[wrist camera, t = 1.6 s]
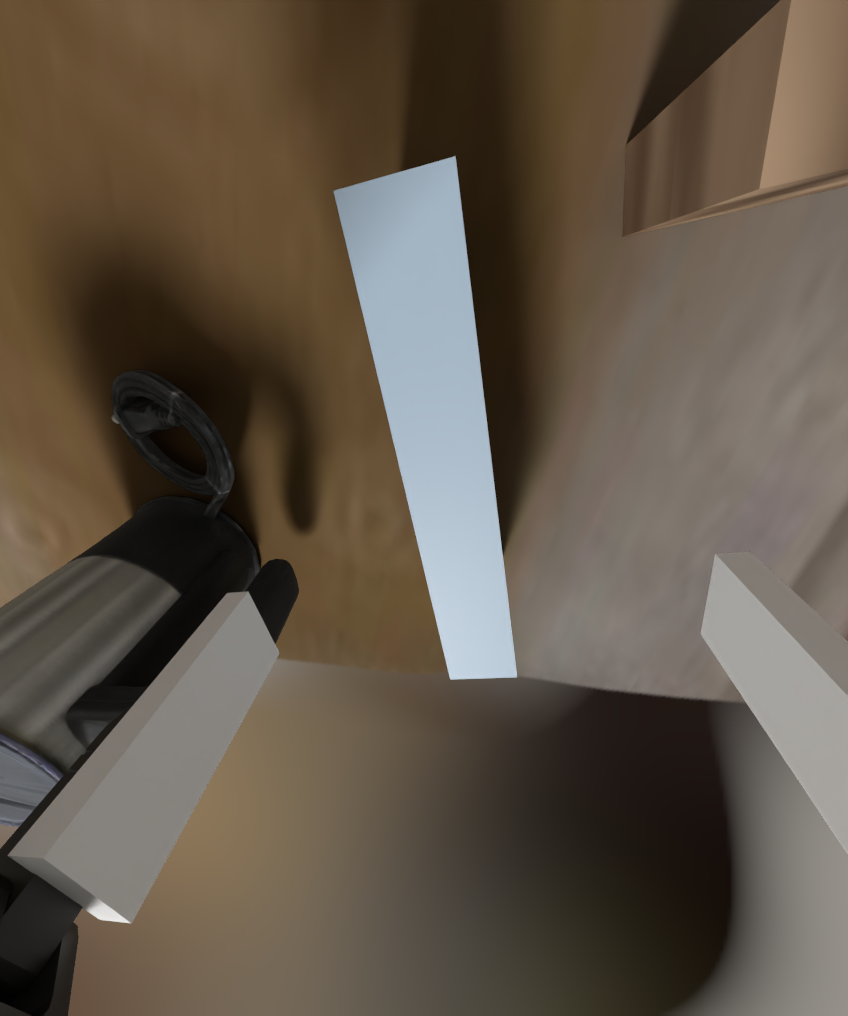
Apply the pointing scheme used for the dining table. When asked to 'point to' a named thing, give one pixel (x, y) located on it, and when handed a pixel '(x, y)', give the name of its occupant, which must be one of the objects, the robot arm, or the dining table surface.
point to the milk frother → (124, 603)
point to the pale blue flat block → (434, 399)
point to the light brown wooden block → (749, 124)
